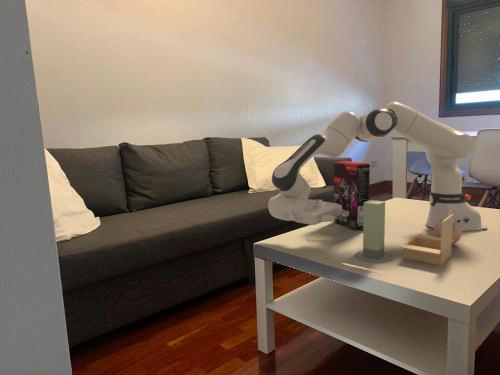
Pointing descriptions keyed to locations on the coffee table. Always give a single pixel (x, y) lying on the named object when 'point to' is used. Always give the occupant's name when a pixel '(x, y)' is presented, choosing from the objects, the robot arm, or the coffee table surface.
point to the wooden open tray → (431, 245)
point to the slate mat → (383, 259)
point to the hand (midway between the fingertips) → (341, 216)
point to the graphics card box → (351, 191)
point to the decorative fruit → (455, 233)
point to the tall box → (373, 229)
